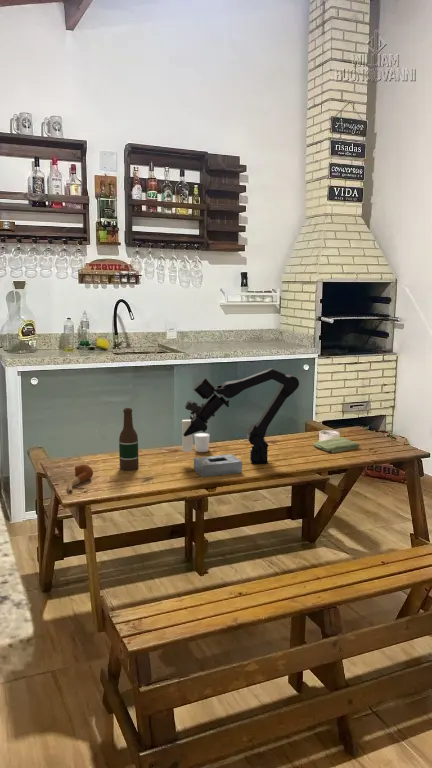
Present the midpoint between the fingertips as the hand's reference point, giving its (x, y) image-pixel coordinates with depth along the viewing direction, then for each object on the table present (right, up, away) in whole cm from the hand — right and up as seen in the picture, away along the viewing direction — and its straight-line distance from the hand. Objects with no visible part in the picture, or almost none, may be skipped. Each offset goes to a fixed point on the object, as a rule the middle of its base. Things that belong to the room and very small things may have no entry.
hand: (183, 434), depth 259 cm
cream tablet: (+1, -6, +1) cm, 7 cm away
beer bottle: (-21, -13, -3) cm, 25 cm away
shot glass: (+7, -9, +23) cm, 25 cm away
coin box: (+13, -14, -7) cm, 20 cm away
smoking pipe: (-37, -17, -22) cm, 46 cm away
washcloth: (+66, -8, +26) cm, 71 cm away
